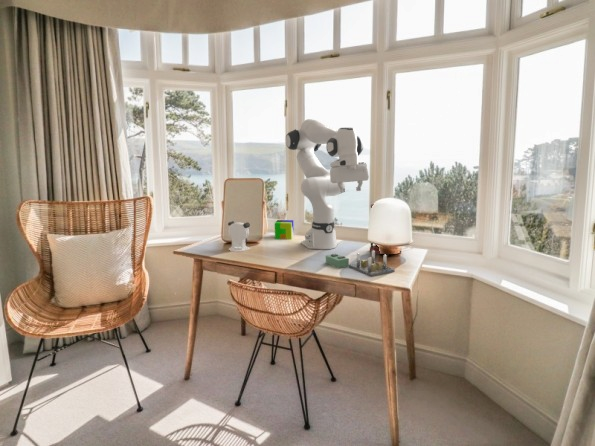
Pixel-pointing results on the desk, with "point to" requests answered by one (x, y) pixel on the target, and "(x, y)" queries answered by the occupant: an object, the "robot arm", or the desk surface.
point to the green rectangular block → (337, 260)
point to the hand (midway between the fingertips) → (350, 191)
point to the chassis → (371, 266)
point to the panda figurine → (239, 236)
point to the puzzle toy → (284, 229)
